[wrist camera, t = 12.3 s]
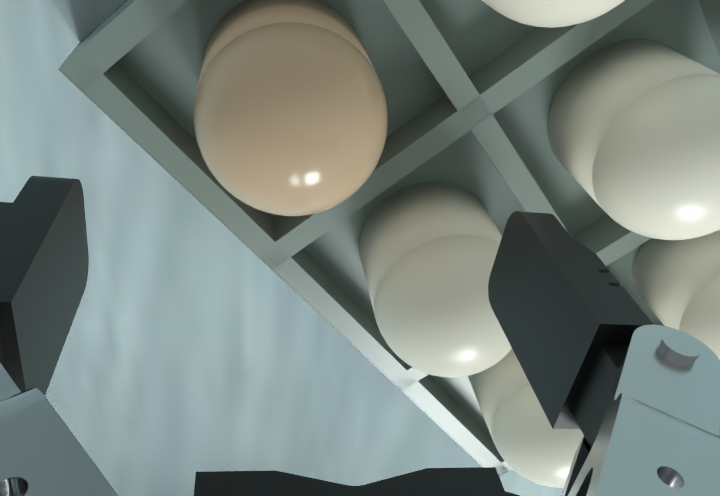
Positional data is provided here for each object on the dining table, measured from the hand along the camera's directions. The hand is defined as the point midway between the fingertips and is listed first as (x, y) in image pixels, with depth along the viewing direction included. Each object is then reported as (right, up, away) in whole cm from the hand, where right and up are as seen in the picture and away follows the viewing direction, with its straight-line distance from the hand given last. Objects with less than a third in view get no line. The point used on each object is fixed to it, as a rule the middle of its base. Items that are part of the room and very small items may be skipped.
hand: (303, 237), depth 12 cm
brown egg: (-1, +5, +7) cm, 9 cm away
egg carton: (+7, +3, +11) cm, 14 cm away
